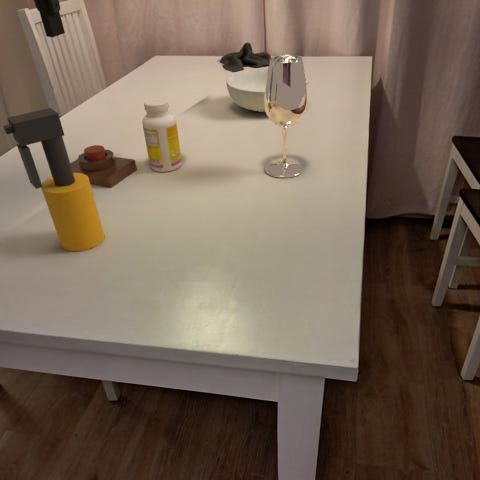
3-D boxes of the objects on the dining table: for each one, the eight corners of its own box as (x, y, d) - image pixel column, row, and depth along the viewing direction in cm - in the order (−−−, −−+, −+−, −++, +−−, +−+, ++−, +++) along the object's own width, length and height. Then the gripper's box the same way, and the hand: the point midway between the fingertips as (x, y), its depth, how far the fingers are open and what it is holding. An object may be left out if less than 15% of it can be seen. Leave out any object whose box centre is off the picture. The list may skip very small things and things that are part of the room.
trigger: (36, 189, 67) (21, 149, 63) (30, 183, 68) (16, 144, 64) (42, 187, 67) (29, 147, 63) (37, 181, 69) (23, 142, 65)
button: (81, 160, 93) (79, 151, 91) (94, 152, 95) (92, 144, 94) (98, 162, 91) (95, 153, 90) (110, 155, 94) (108, 146, 93)
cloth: (221, 56, 169) (220, 37, 165) (272, 54, 168) (272, 35, 164) (215, 72, 153) (213, 51, 149) (272, 70, 151) (272, 49, 147)
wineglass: (307, 176, 90) (313, 62, 77) (267, 179, 90) (266, 65, 77) (300, 160, 96) (304, 51, 83) (262, 163, 96) (261, 54, 83)
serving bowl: (248, 126, 113) (247, 95, 109) (216, 103, 128) (214, 76, 123) (321, 111, 119) (323, 82, 115) (283, 91, 134) (283, 64, 129)
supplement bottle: (181, 158, 100) (172, 94, 92) (183, 171, 95) (174, 104, 87) (149, 162, 99) (138, 98, 91) (150, 174, 94) (138, 108, 86)
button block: (63, 179, 95) (57, 160, 92) (90, 162, 101) (85, 144, 98) (111, 188, 91) (106, 168, 88) (137, 169, 97) (133, 150, 94)
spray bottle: (57, 261, 72) (9, 129, 59) (43, 242, 76) (-5, 115, 63) (111, 241, 76) (77, 113, 62) (94, 224, 80) (59, 101, 67)
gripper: (-62, -174, 59) (9, 36, 76) (11, -181, 55) (70, 45, 71) (-15, -174, 64) (43, 25, 80) (56, -180, 59) (101, 32, 76)
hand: (55, 34), depth 76 cm, fingers closed
